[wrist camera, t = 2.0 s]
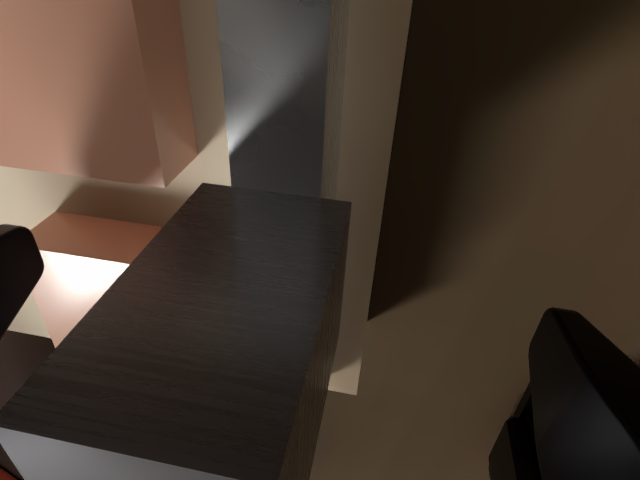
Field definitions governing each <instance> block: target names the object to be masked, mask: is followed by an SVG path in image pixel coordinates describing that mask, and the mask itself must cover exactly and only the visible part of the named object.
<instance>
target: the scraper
mask: <svg viewBox="0 0 640 480" xmlns="http://www.w3.org/2000/svg"><path fill="white" fill-rule="evenodd" d="M216 5H217V18H218V30H219V42H220V54H221V67H222V79H223V91H224V103H225V116H226V128H227V140H228V152H229V164H230V177H231V186H225V185H217V184H209V183H202V184H201V185H200V186H199V187H198V188H197V189H196V190H195V192H194V193H193V194H192V195H191V196H190V197H189V198H188V199H187V201H186V202H185V203H184V204H183V205H182V206H181V207H180V209H179V210H178V211H177V212H176V213H175V214H174V215H173V216H172V218H171V219H170V220H169V221H168V222H167V223H166V224H165V225H164V227H163V228H162V229H161V230H160V231H159V232H158V233H157V234H156V236H155V237H154V238H153V239H152V240H151V241H150V242H149V243H148V245H147V246H146V247H145V248H144V249H143V250H142V251H141V252H140V254H139V255H138V256H137V257H136V258H135V259H134V260H133V261H132V263H131V264H130V265H129V266H128V267H127V268H126V269H125V270H124V272H123V273H122V274H121V275H120V276H119V277H118V278H117V279H116V281H115V282H114V283H113V284H112V285H111V286H110V287H109V289H108V290H107V291H106V292H105V293H104V294H103V295H102V296H101V298H100V299H99V300H98V301H97V302H96V303H95V304H94V305H93V307H92V308H91V309H90V310H89V311H88V312H87V313H86V314H85V316H84V317H83V318H82V319H81V320H80V321H79V322H78V323H77V325H76V326H75V327H74V328H73V329H72V330H71V331H70V332H69V334H68V335H67V336H66V337H65V338H64V339H63V340H62V341H61V343H60V344H59V345H58V346H57V347H56V348H55V349H54V350H53V352H52V353H51V354H50V355H49V356H48V357H47V358H46V360H45V361H44V362H43V363H42V364H41V365H40V366H39V367H38V369H37V370H36V371H35V372H34V373H33V374H32V375H31V376H30V378H29V379H28V380H27V381H26V382H25V383H24V384H23V385H22V387H21V388H20V389H19V390H18V391H17V392H16V393H15V394H14V396H13V397H12V398H11V399H10V400H9V401H8V402H7V403H6V405H5V406H4V407H3V408H2V409H1V410H0V444H1V445H2V447H3V448H4V450H5V451H6V453H7V454H8V456H9V457H10V459H11V460H12V462H13V463H14V465H15V466H16V468H17V469H18V471H19V472H20V474H21V476H22V477H23V479H24V480H309V477H310V473H311V468H312V463H313V458H314V453H315V448H316V444H317V439H318V434H319V429H320V424H321V420H322V415H323V410H324V405H325V400H326V396H327V391H328V386H329V381H330V376H331V371H332V367H333V362H334V357H335V352H336V347H337V343H338V338H339V332H340V321H341V311H342V300H343V289H344V279H345V268H346V258H347V247H348V237H349V226H350V216H351V205H352V202H348V201H340V200H336V193H337V179H338V165H339V151H340V137H341V123H342V109H343V95H344V81H345V67H346V53H347V39H348V25H349V11H350V0H216Z"/></svg>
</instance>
